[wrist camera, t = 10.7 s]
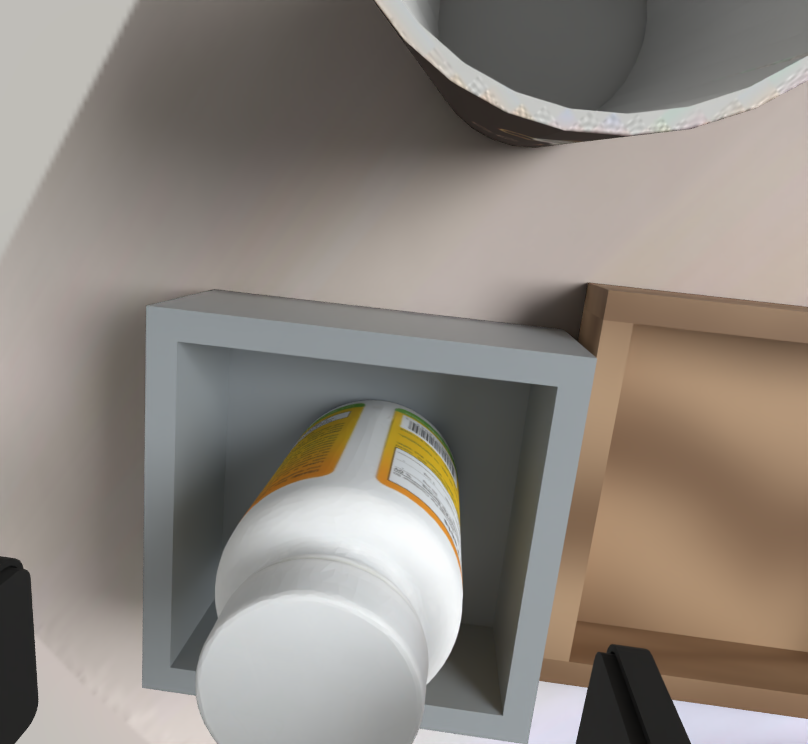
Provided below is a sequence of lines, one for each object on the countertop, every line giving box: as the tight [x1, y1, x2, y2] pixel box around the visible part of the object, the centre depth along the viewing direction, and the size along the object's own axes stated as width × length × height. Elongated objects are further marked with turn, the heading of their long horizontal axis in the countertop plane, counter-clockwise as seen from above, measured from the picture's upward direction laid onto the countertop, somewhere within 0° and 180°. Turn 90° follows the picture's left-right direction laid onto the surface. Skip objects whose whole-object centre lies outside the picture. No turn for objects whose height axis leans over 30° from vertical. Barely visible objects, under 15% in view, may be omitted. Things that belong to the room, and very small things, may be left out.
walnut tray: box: [539, 283, 808, 719], centre depth 18 cm, size 12×12×2 cm
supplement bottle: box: [195, 400, 463, 744], centre depth 15 cm, size 5×5×10 cm
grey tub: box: [142, 289, 597, 744], centre depth 18 cm, size 11×11×4 cm
